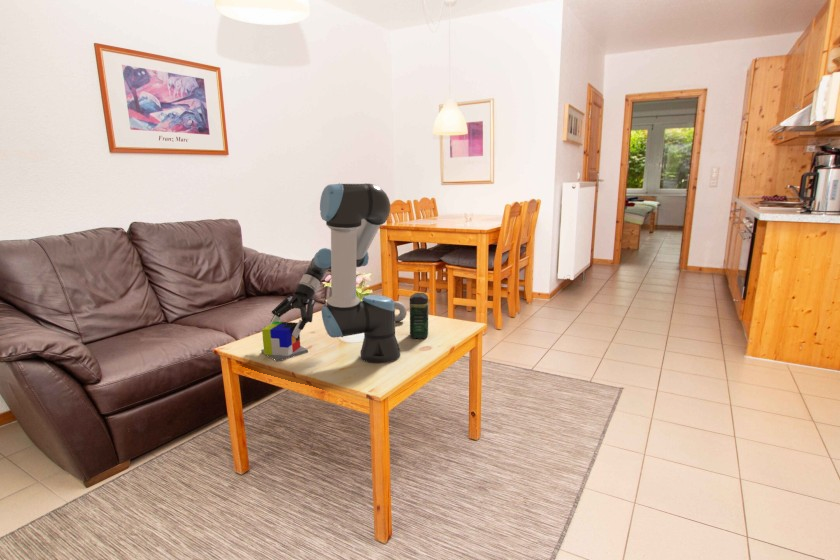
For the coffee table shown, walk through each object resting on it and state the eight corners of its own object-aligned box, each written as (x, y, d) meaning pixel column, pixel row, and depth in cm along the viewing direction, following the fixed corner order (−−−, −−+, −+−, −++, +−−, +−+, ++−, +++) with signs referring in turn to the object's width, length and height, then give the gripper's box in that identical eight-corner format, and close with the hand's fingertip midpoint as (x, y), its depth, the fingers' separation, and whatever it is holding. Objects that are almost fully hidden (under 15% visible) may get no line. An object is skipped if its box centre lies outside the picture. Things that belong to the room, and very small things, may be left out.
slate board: (307, 352, 178) (307, 349, 177) (276, 361, 169) (276, 358, 169) (291, 344, 187) (291, 341, 187) (261, 352, 178) (261, 349, 178)
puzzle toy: (288, 355, 171) (286, 330, 169) (264, 354, 173) (262, 329, 171) (300, 346, 180) (298, 322, 178) (277, 345, 182) (275, 321, 180)
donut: (408, 321, 217) (407, 301, 215) (405, 323, 214) (404, 302, 212) (388, 319, 220) (388, 299, 218) (385, 321, 217) (385, 301, 215)
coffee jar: (427, 339, 191) (427, 296, 187) (408, 339, 191) (408, 296, 188) (429, 332, 200) (428, 291, 196) (411, 332, 201) (410, 291, 197)
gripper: (335, 296, 182) (310, 343, 172) (290, 290, 194) (265, 333, 185) (325, 286, 176) (299, 333, 167) (279, 280, 189) (253, 324, 179)
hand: (281, 333), depth 176 cm, fingers open, 13 cm apart
